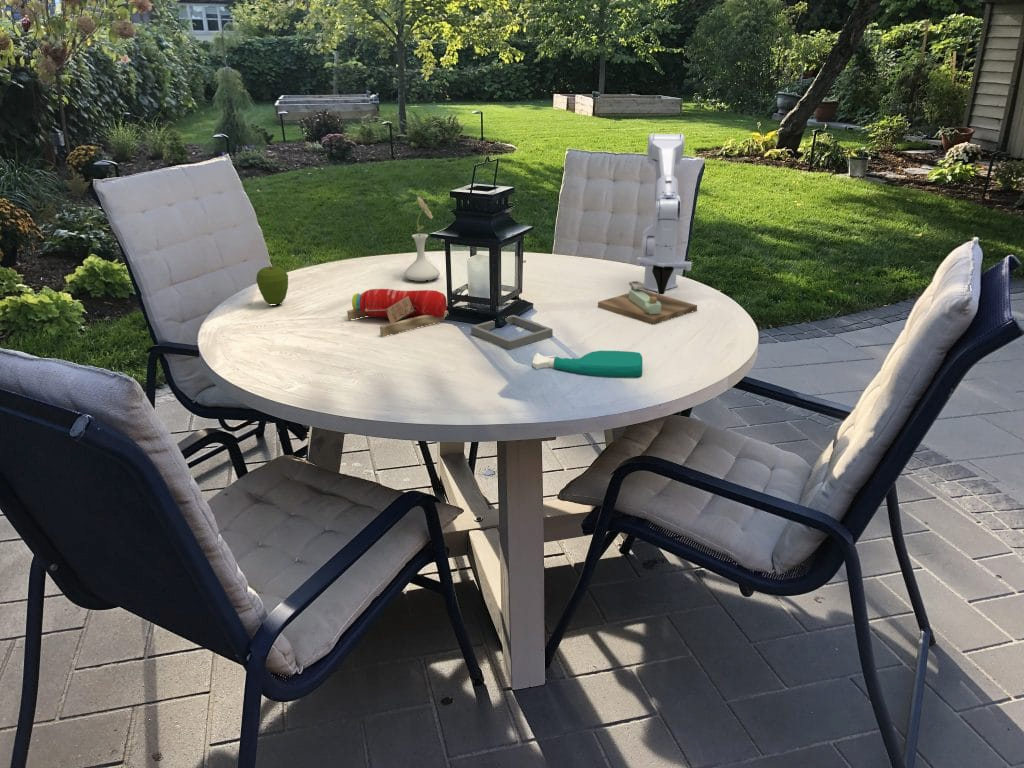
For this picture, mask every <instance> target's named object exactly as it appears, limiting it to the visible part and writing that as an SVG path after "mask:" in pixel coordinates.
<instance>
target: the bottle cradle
mask: <svg viewBox="0 0 1024 768" xmlns="http://www.w3.org/2000/svg"><path fill="white" fill-rule="evenodd" d="M447 314H448V315H449V310H447V309H446V311H445V312H444V316H443V317H434V316H433V315H422V316H418V317H414V318H406V319H402V320H400V321H398V322H394V323H387V324H383V325H380V326H379V332H380V333H379V335H382V336H386V337H388V336H387V335H390V334H393V335H396V334H395V333H397V334H400V333H399V332H401V333H403V332H402V331H405V332H407V331H406V330H409V331H411V330H410V329H413V330H415V329H414V328H417V327H421V326H424V327H426V326H425V325H428V326H430V325H429V324H432V325H434V324H433V323H436V324H438V322H440V323H443V322H442V321H443V320H444V319H445V317H446V316H447ZM346 315H347V320H348V319H350V320H351V319H356V318H360V317H365V316H368V315H366V314H365V313H363V312H362V311H361V310H359V309H353V308H352V309H349V310H347V314H346ZM350 320H349V321H350ZM421 328H422V327H421ZM417 329H418V328H417ZM382 336H381V337H382ZM390 336H391V335H390Z"/></svg>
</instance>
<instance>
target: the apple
mask: <svg viewBox="0 0 1024 768" xmlns="http://www.w3.org/2000/svg"><path fill="white" fill-rule="evenodd" d="M255 280H256V285H257V287H258V290H259V292H260V294H261V295H262V298H263V300H264V301H265V302H266V303H267V304H268V305H269V304H280V303H281V304H282V303H283V302H284V301H285V299H286V297H287V293H288V289H289V275H288V273H287V271H286V270H285V269H284V268H282V267H281V266H271V265H269V266H265V267H262V268H260V270H258V272H257V273H256V278H255ZM281 304H280V305H281Z"/></svg>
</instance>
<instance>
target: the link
mask: <svg viewBox="0 0 1024 768" xmlns="http://www.w3.org/2000/svg"><path fill="white" fill-rule="evenodd" d="M641 290H642V289H638V290H631V289H629V290H628V293H629V299H630V300H631V301H632V302H634V303H635V304H637V305H638V306H639V307H641V308H642V309H643V310H645V312H646V313H648V314H660V313H661V303H660V302H659V301H656V303H650V302H649V301H650V296H648V295H647V294H645V293H644V292H642V291H641Z"/></svg>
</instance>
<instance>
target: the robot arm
mask: <svg viewBox="0 0 1024 768" xmlns="http://www.w3.org/2000/svg"><path fill="white" fill-rule="evenodd" d="M685 141H686V139H685V135H684V134H683V133H653V132H652V133H650V134H648V138H647V155H646V156H647V158H646V159H647V164H649V165H650V166H653V169H654V173H655V175H654V192H653V194H654V196H653V197H654V198H653V213H652V214H653V215H652V224H651V225H649V226H647V227H646V228H645V229H644V230H643V232H642V239H641V256H642V257H641V256H640V257H639V256H638V257H637V258H636V266H637V267H640V266H642V267H643V266H644V282H643V283H642V284H643V285H645V289H644V290H647V291H651V292H656V293H657V294H659V295H665V293H666V290H671V289H673V288H676V287H679V286H678V284H677V282H676V281H677V273H678V271H677V270H685V271H689V272H690V271H691V270H692V261H687V260H686V261H685V260H681V259H676V255H677V245H678V242H677V241H678V239H677V236H678V225H679V224H678V223H679V221H680V220H681V215H682V214H681V213H682V201H681V197H680V195H679V180H678V179H677V178H676V177H675V176H674V175H675V166H677V165H679V164H680V163H681V161H682V159H683V158H682V157H683V155H684V152H685Z"/></svg>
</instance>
